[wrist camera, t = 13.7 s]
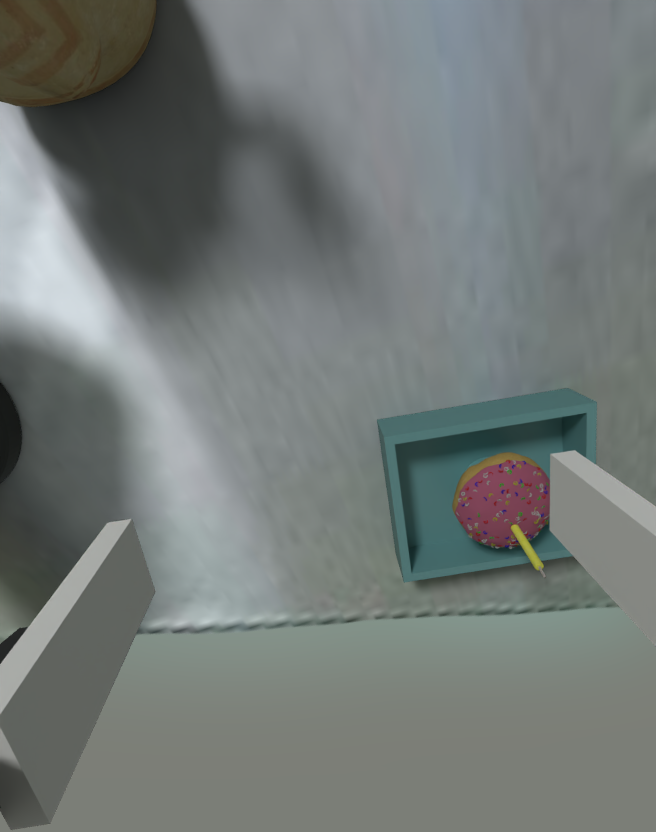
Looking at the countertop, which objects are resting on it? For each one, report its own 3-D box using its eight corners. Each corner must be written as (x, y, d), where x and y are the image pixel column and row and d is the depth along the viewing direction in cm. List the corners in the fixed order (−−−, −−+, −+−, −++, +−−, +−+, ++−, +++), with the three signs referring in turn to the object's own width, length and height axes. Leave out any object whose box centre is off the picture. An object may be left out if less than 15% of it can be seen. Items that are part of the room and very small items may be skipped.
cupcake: (532, 509, 45) (605, 591, 34) (446, 525, 46) (489, 612, 34) (525, 428, 43) (602, 487, 31) (434, 446, 43) (477, 511, 32)
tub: (395, 553, 47) (403, 582, 43) (376, 419, 43) (383, 437, 38) (568, 526, 47) (594, 552, 42) (568, 388, 42) (596, 402, 38)
